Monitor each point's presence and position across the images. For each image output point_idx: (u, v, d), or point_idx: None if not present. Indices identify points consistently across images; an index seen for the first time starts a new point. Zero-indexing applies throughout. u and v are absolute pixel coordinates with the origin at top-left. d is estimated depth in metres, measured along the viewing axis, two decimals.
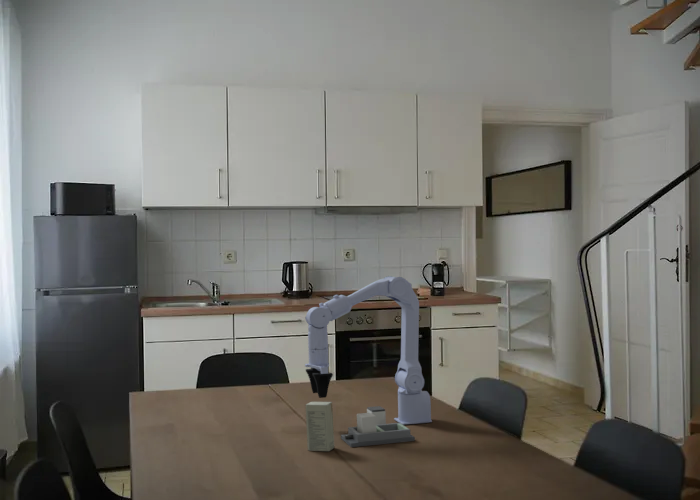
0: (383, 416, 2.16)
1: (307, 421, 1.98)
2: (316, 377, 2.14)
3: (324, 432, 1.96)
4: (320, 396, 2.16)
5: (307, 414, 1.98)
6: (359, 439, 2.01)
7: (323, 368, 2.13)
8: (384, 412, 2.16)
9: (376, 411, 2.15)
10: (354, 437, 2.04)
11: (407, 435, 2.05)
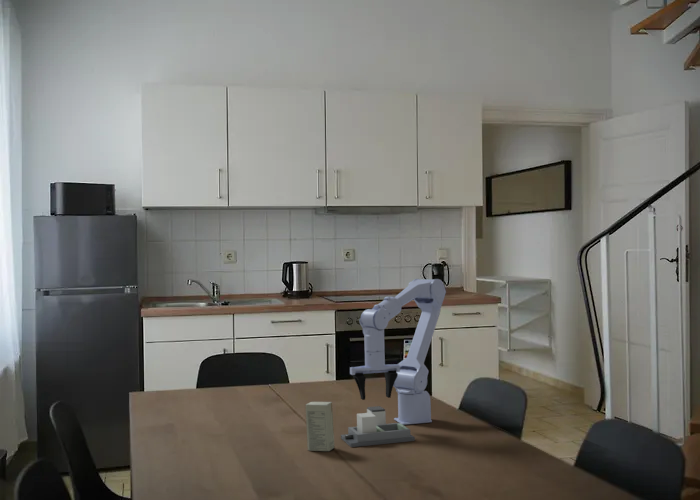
0: (383, 416, 2.16)
1: (307, 421, 1.98)
2: (353, 376, 2.18)
3: (324, 432, 1.96)
4: (361, 397, 2.17)
5: (307, 414, 1.98)
6: (359, 439, 2.01)
7: (350, 369, 2.16)
8: (384, 412, 2.16)
9: (376, 411, 2.15)
10: (354, 437, 2.04)
11: (407, 435, 2.05)
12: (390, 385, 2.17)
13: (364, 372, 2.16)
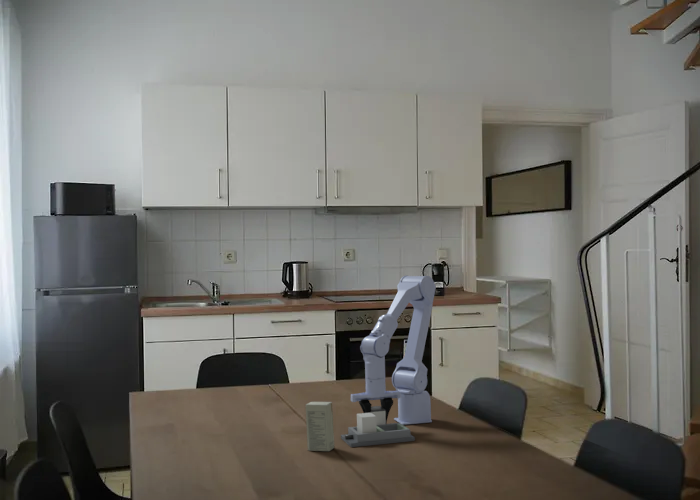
0: (383, 416, 2.16)
1: (307, 421, 1.98)
2: (359, 403, 2.18)
3: (324, 432, 1.96)
4: None
5: (307, 414, 1.98)
6: (359, 439, 2.01)
7: (351, 396, 2.16)
8: (384, 412, 2.16)
9: (376, 411, 2.15)
10: (354, 437, 2.04)
11: (407, 435, 2.05)
12: (386, 413, 2.17)
13: (365, 399, 2.16)
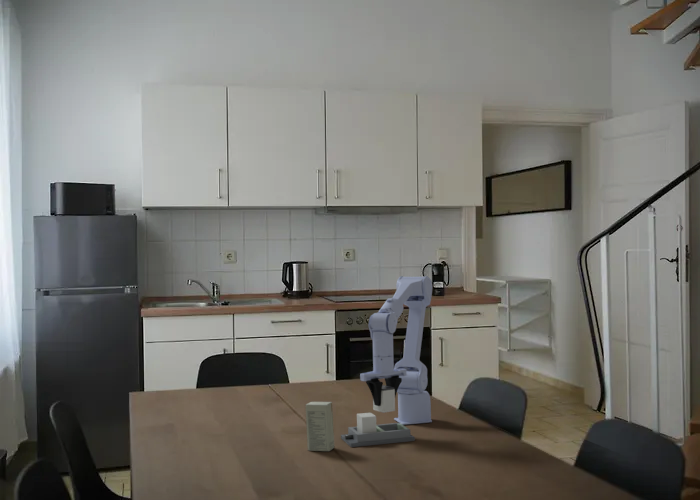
0: (392, 394, 2.11)
1: (307, 421, 1.98)
2: (366, 382, 2.11)
3: (324, 432, 1.96)
4: (375, 403, 2.11)
5: (307, 414, 1.98)
6: (359, 439, 2.01)
7: (361, 375, 2.08)
8: (393, 390, 2.11)
9: (386, 390, 2.10)
10: (354, 437, 2.04)
11: (407, 435, 2.05)
12: None
13: (374, 378, 2.10)
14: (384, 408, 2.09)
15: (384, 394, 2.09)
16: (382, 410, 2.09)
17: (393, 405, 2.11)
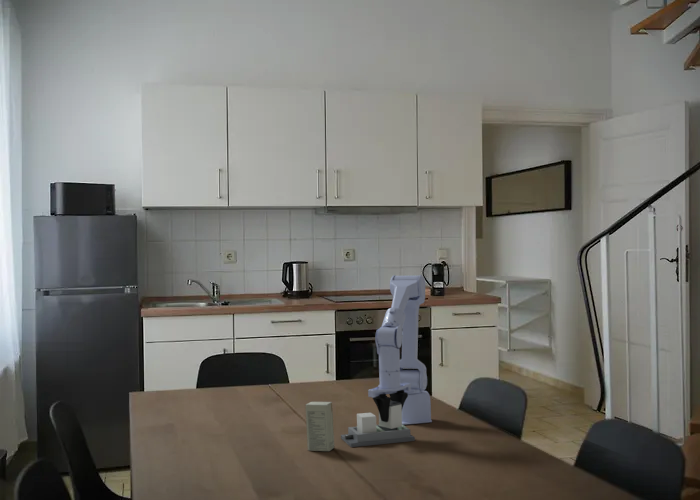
0: (399, 410, 2.07)
1: (307, 421, 1.98)
2: (373, 398, 2.07)
3: (324, 432, 1.96)
4: (381, 419, 2.07)
5: (307, 414, 1.98)
6: (359, 439, 2.01)
7: (369, 391, 2.04)
8: (400, 406, 2.08)
9: (394, 405, 2.06)
10: (354, 437, 2.04)
11: (407, 435, 2.05)
12: None
13: (382, 393, 2.06)
14: (392, 424, 2.05)
15: (392, 410, 2.06)
16: (390, 426, 2.05)
17: (400, 420, 2.07)
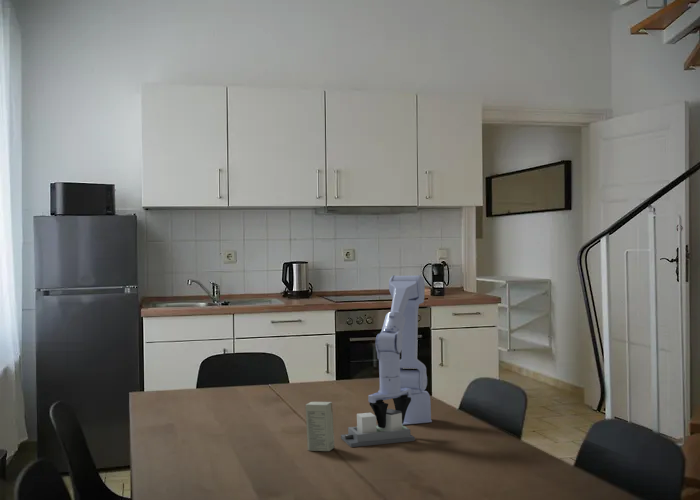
0: (399, 418, 2.07)
1: (307, 421, 1.98)
2: (370, 404, 2.06)
3: (324, 432, 1.96)
4: (379, 425, 2.06)
5: (307, 414, 1.98)
6: (359, 439, 2.01)
7: (369, 396, 2.04)
8: (400, 414, 2.08)
9: (394, 414, 2.06)
10: (354, 437, 2.04)
11: (407, 435, 2.05)
12: (404, 411, 2.09)
13: (382, 399, 2.06)
14: None
15: (392, 418, 2.06)
16: None
17: (400, 429, 2.07)
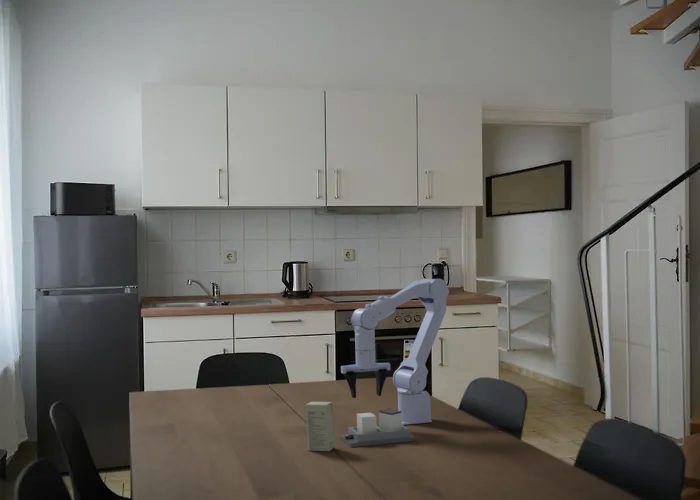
0: (399, 418, 2.07)
1: (307, 421, 1.98)
2: (344, 375, 2.21)
3: (324, 432, 1.96)
4: None
5: (307, 414, 1.98)
6: (359, 439, 2.01)
7: (341, 367, 2.18)
8: (400, 414, 2.08)
9: (394, 414, 2.06)
10: (354, 437, 2.04)
11: (407, 435, 2.05)
12: (380, 384, 2.20)
13: (355, 371, 2.19)
14: None
15: (392, 418, 2.06)
16: None
17: (400, 429, 2.07)
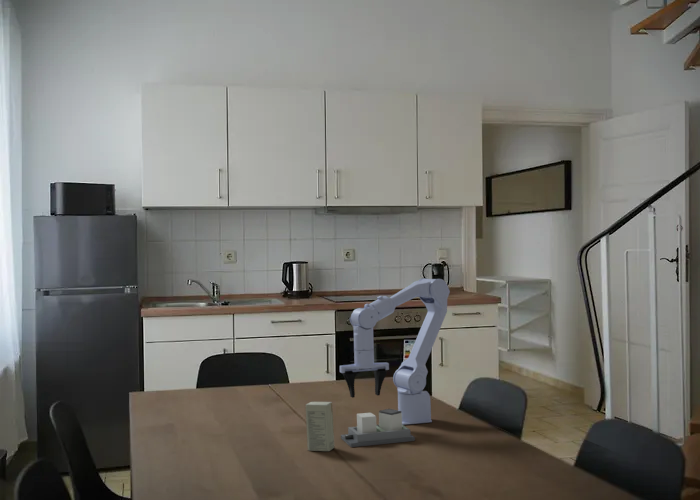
0: (399, 418, 2.07)
1: (307, 421, 1.98)
2: (343, 375, 2.21)
3: (324, 432, 1.96)
4: (350, 395, 2.20)
5: (307, 414, 1.98)
6: (359, 439, 2.01)
7: (340, 367, 2.19)
8: (400, 414, 2.08)
9: (394, 414, 2.06)
10: (354, 437, 2.04)
11: (407, 435, 2.05)
12: (379, 383, 2.20)
13: (353, 370, 2.20)
14: None
15: (392, 418, 2.06)
16: None
17: (400, 429, 2.07)
